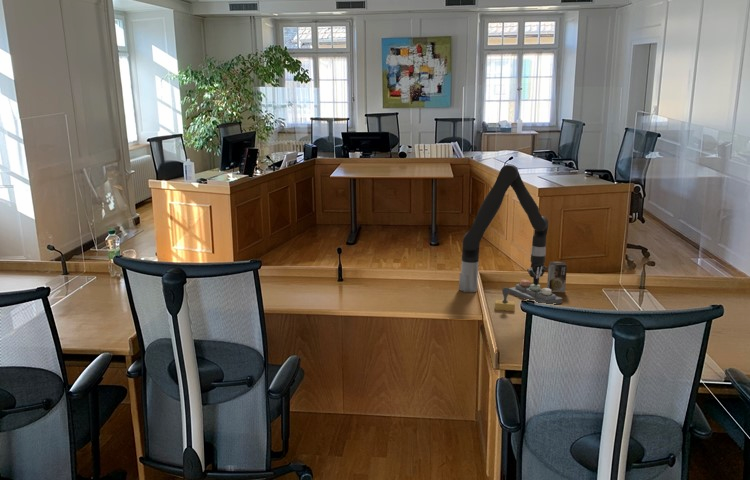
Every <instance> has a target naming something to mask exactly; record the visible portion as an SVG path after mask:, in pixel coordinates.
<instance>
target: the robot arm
mask: <svg viewBox="0 0 750 480" xmlns="http://www.w3.org/2000/svg"><path fill="white" fill-rule="evenodd" d="M510 187H511V188H512V190H513V191H514V194H515V195H516V197H517V200H518V201H519V204H520V205H521V207H522V209H523V211H524V213H525V214H526V215H527V217H528V220H529V223H530V224H531V226H532V228H533V229H534V233H533V236H532V242H531V243H532V244H531V249H530V267H529V268H527V269H526V271H527V273H528V274H529V276H530V278H533V282H532V284H534V285H538V284H539V285H540V278H541V277H543V276H544V274H545V272H546V271H547V269H548V267H547V266H545V263H546V254H547V253H546V251H547V249H546V248H547V247H546V245H547V235H548V231H549V230H548V229H549V220H548V218H547V217H546V216H543V215H542V214H541V213H540V208H539V205H537V203H536V201H535V200H534V198H533V196H532V195H531V193H530V191H529V190H528V189H527V187H526V186H525V184H524V182H523V180H522V177H521V175H520V172H519V169H518V167H517V166H516V165H514V164H505V165H503V166H502V167H501V168H500V171H499V173H498V175H497V177H496V180H495V182H494V184H493V186H492V188H491V190H490V191H488V194H487V195H486V196H485V198H484V200H483V202H482V203H481V205H480V207H479V208H478V211H477V213H476V216H475V219H474V221H473V223H472V226H471V227H470V229H469V230H468V231H467V232H466V233H464V235H463V237H462V249H461V250H462V252H461V253H462V254H461V269H460V270H461V271H460V273H459V280H458V281H459V283H458V291H461V292H463V293H475V292H477V290H478V278H479V261H480V260H479V259H480V243H481V240H482V239H483V236H484V234H485V231H486V230H487V229H488V227H489V226H490V224H491V223H492V222H493V219H494V218H495V217H496V216H497V213H498V211H499V209H500V207H501V205H502V203H503V201H504V197H505V195H506V192H508V189H509V188H510Z"/></svg>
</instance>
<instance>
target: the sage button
mask: <svg viewBox="0 0 750 480" xmlns="http://www.w3.org/2000/svg"><path fill="white" fill-rule="evenodd" d="M530 285H531V290H532V291H540V289H541V284H540V283H539V284H538V285H534V284H533V283H531V284H530Z"/></svg>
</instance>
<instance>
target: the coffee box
mask: <svg viewBox="0 0 750 480" xmlns="http://www.w3.org/2000/svg"><path fill="white" fill-rule="evenodd" d="M547 269H548V270H547V280H546V281H547V283H546V288H549V289H551V293H566V281H567V269H568V265H567V263H566V261H548V267H547Z"/></svg>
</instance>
